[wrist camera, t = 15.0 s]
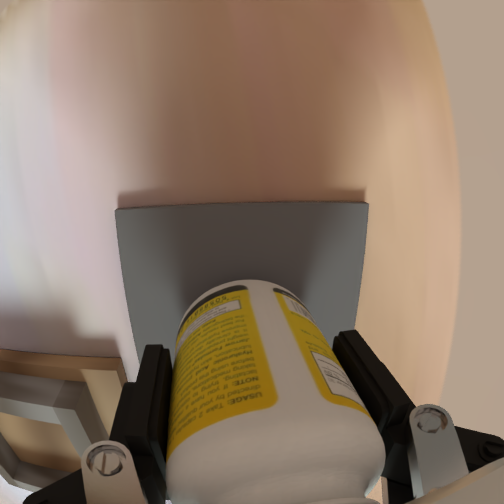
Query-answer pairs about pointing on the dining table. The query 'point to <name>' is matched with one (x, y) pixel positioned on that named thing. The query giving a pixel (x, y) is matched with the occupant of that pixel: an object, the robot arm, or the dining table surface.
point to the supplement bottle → (264, 407)
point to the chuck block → (53, 413)
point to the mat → (240, 259)
